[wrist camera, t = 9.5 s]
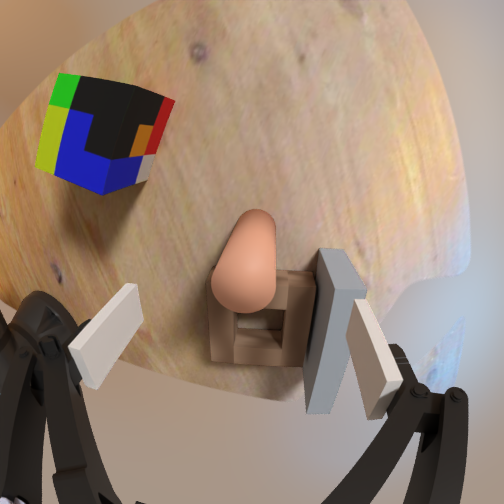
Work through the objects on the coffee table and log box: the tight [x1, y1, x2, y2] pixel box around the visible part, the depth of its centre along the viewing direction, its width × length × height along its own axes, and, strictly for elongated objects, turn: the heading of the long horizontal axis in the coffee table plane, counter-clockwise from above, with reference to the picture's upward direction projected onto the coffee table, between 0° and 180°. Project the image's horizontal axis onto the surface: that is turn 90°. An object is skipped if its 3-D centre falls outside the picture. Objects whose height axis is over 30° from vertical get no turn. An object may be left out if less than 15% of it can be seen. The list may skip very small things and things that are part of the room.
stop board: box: [303, 248, 367, 414], centre depth 31 cm, size 3×18×10 cm, turn 178°
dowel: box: [211, 209, 276, 313], centre depth 26 cm, size 4×4×14 cm
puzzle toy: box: [35, 73, 175, 196], centre depth 24 cm, size 10×10×10 cm
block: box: [206, 266, 316, 367], centre depth 34 cm, size 12×12×4 cm
